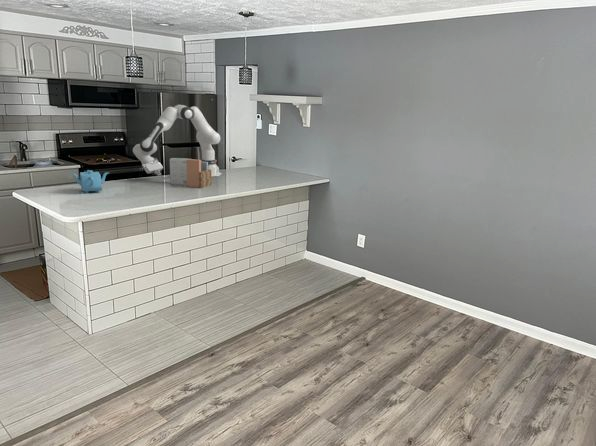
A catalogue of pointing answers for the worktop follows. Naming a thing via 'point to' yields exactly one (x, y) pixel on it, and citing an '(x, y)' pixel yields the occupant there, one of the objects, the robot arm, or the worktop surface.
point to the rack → (205, 178)
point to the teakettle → (90, 181)
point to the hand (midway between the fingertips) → (159, 175)
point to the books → (195, 171)
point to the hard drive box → (178, 171)
